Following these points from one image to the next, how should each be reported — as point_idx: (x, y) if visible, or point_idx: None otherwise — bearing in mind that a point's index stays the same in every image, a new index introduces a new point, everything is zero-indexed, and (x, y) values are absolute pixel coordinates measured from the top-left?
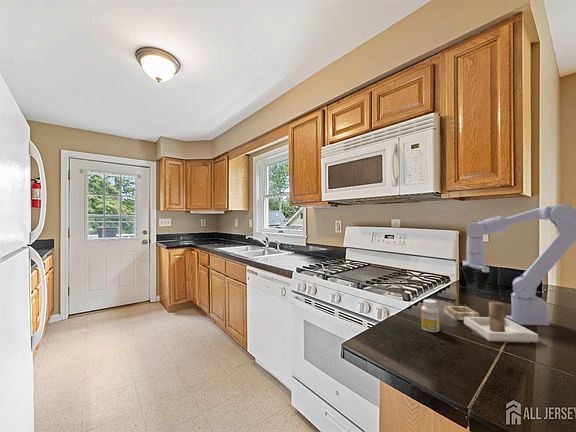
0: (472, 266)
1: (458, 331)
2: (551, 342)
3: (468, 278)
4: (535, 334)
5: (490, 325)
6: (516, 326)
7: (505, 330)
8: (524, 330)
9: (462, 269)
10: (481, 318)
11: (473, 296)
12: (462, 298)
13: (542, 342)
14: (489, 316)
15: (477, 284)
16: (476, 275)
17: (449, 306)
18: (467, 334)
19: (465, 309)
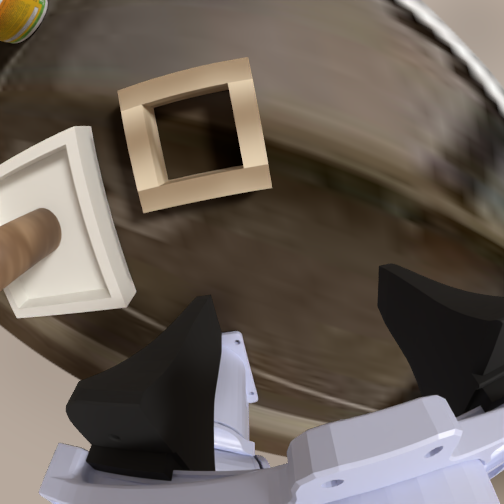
0: (198, 483)
1: (20, 99)
2: (49, 337)
3: (405, 306)
4: (14, 311)
5: (28, 213)
6: (63, 301)
7: (58, 259)
8: (38, 304)
9: (493, 308)
10: (80, 202)
11: None
12: (480, 250)
13: (37, 317)
14: (10, 222)
15: (182, 315)
16: (119, 371)
17: (242, 84)
18: (7, 125)
19: (232, 169)
